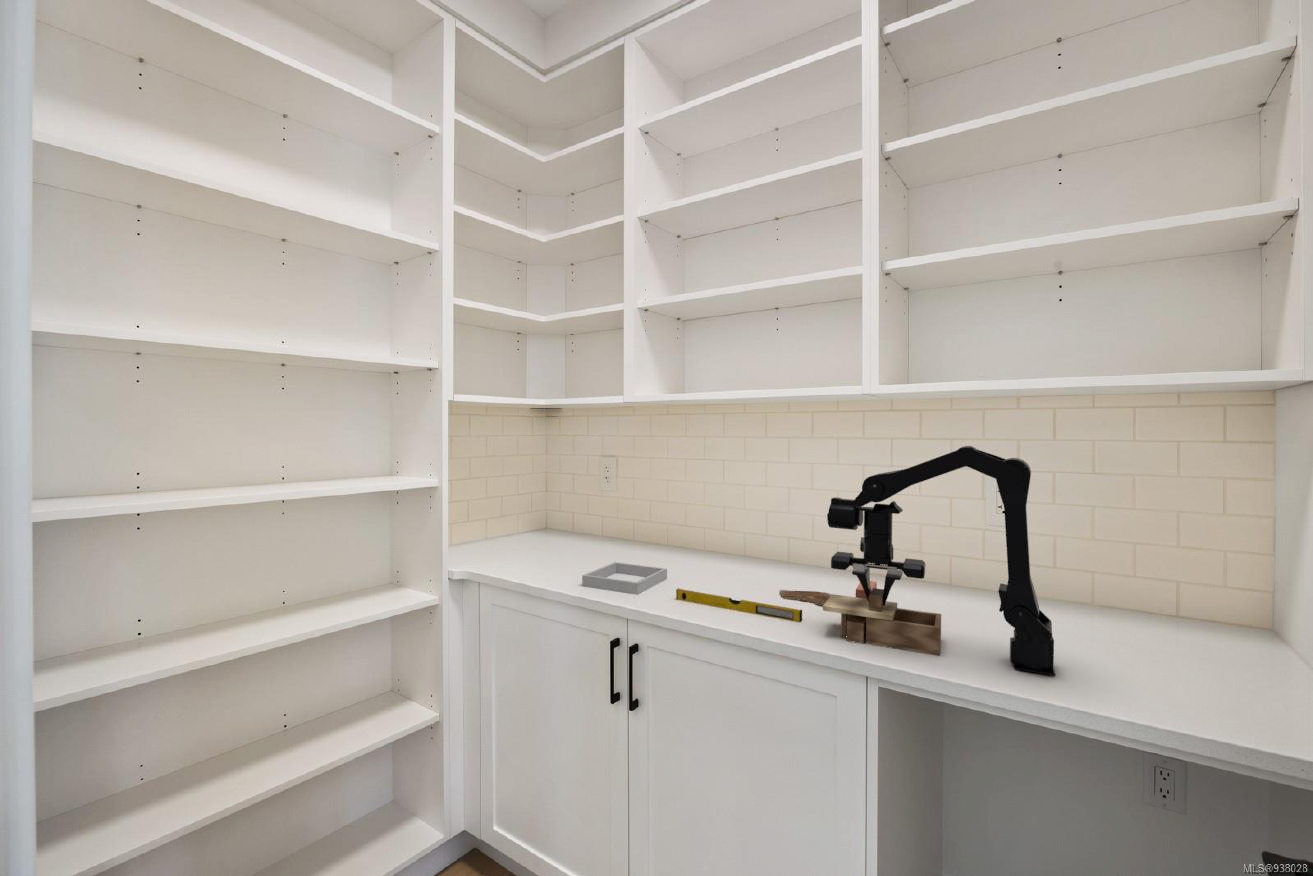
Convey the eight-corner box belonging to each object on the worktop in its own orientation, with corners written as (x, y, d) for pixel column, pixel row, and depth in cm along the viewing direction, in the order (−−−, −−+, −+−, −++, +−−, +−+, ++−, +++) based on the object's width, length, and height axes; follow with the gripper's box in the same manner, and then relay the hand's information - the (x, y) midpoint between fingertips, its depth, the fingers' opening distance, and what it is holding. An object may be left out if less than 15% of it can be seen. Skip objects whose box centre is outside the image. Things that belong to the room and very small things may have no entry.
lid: (897, 607, 131) (897, 589, 131) (892, 620, 122) (893, 601, 122) (831, 598, 138) (831, 581, 137) (822, 610, 129) (823, 592, 129)
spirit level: (676, 600, 156) (676, 589, 156) (678, 599, 157) (678, 588, 157) (800, 623, 138) (800, 611, 138) (802, 622, 139) (802, 609, 139)
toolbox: (942, 624, 137) (942, 600, 137) (939, 656, 118) (939, 628, 118) (855, 611, 146) (855, 589, 145) (839, 639, 127) (840, 614, 127)
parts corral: (666, 578, 176) (666, 568, 176) (637, 594, 160) (637, 583, 160) (615, 571, 184) (615, 562, 184) (582, 585, 168) (582, 575, 168)
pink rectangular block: (876, 596, 144) (876, 582, 143) (871, 606, 136) (871, 591, 135) (861, 594, 145) (861, 580, 145) (855, 604, 137) (855, 589, 137)
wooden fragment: (769, 597, 159) (769, 593, 159) (787, 588, 167) (787, 584, 167) (866, 617, 143) (866, 612, 143) (880, 605, 152) (880, 601, 152)
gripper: (927, 530, 131) (925, 600, 131) (840, 523, 139) (839, 589, 140) (924, 538, 121) (923, 614, 121) (830, 530, 129) (830, 601, 130)
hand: (876, 603), depth 128 cm, fingers closed on lid, 2 cm apart
